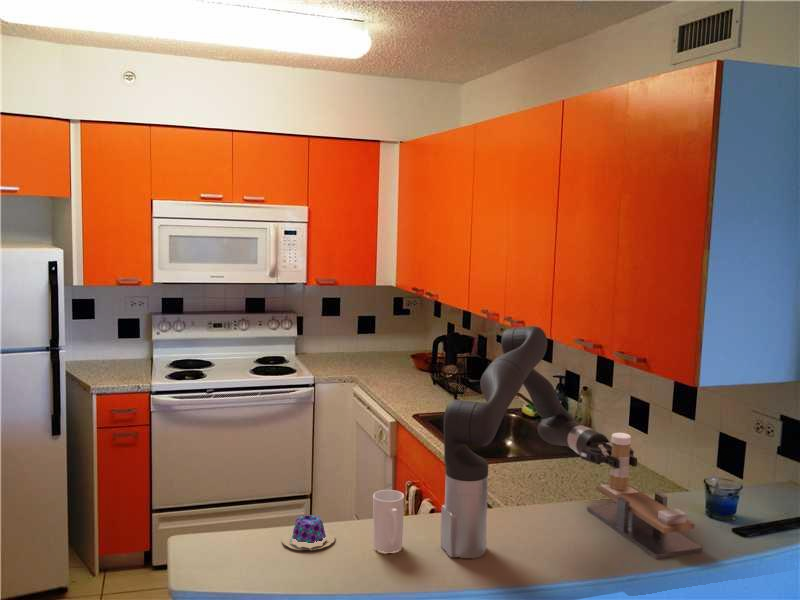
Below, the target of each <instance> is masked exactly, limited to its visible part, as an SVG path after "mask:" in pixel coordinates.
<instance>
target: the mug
mask: <svg viewBox="0 0 800 600" xmlns="http://www.w3.org/2000/svg"><path fill="white" fill-rule="evenodd" d="M404 499H405V494H404V493H403V492H401V491H399V490H394V489H382V490H378V491H375V492H374V493H373V496H372V515H373V516H372V519H373V520H372V521H373V525H372V526H373V528H372V529H373V548H374V547H375V548H376V549H378V550H380V551H384V552H393V551H397V550H399V549H401V548H402V549H403V535H404V533H403V531H404V511H405V509H404V505H405V504H404V503H405V500H404ZM402 549H401V550H402Z"/></svg>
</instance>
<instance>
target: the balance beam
mask: <svg viewBox="0 0 800 600" xmlns="http://www.w3.org/2000/svg"><path fill="white" fill-rule="evenodd" d="M609 483H610V482H609ZM609 483H600V484H596V485H595V490H596V491H597V492H599V493H601V494H602V495H604V496H605V497H607V498H608V499H610V500H612V501H613V502H615V503H617V497H623V498H624V499H626V500H628V501H629V502H630V503H629V511H630V512H631V513H633V514H635V515H636V516H638V517H639V518H641V519H642V520H644V521H645V522H647V523H648V524H650V525H651V526H653V527H655V528H656V529H658V530H659V531H661V532H662V533H670V532H683V531H691V530H695V523H694V522H692V521H691V520H689V519H688V518H687V513H686V512H684V511H682V510H680V509H679V508H672V509H671V508H669V507H668V506H667V507H665V506H664V505H662V504H660V503H659V502H658V501H655V498H652V497H650V496H648V495H647V494H645V493H643V491H640V490H639V489H636V488H635V487H634V486H631V485H630V484H628V488H627V489H626V490H615V489H613V488H611V487H610V486H609Z"/></svg>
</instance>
